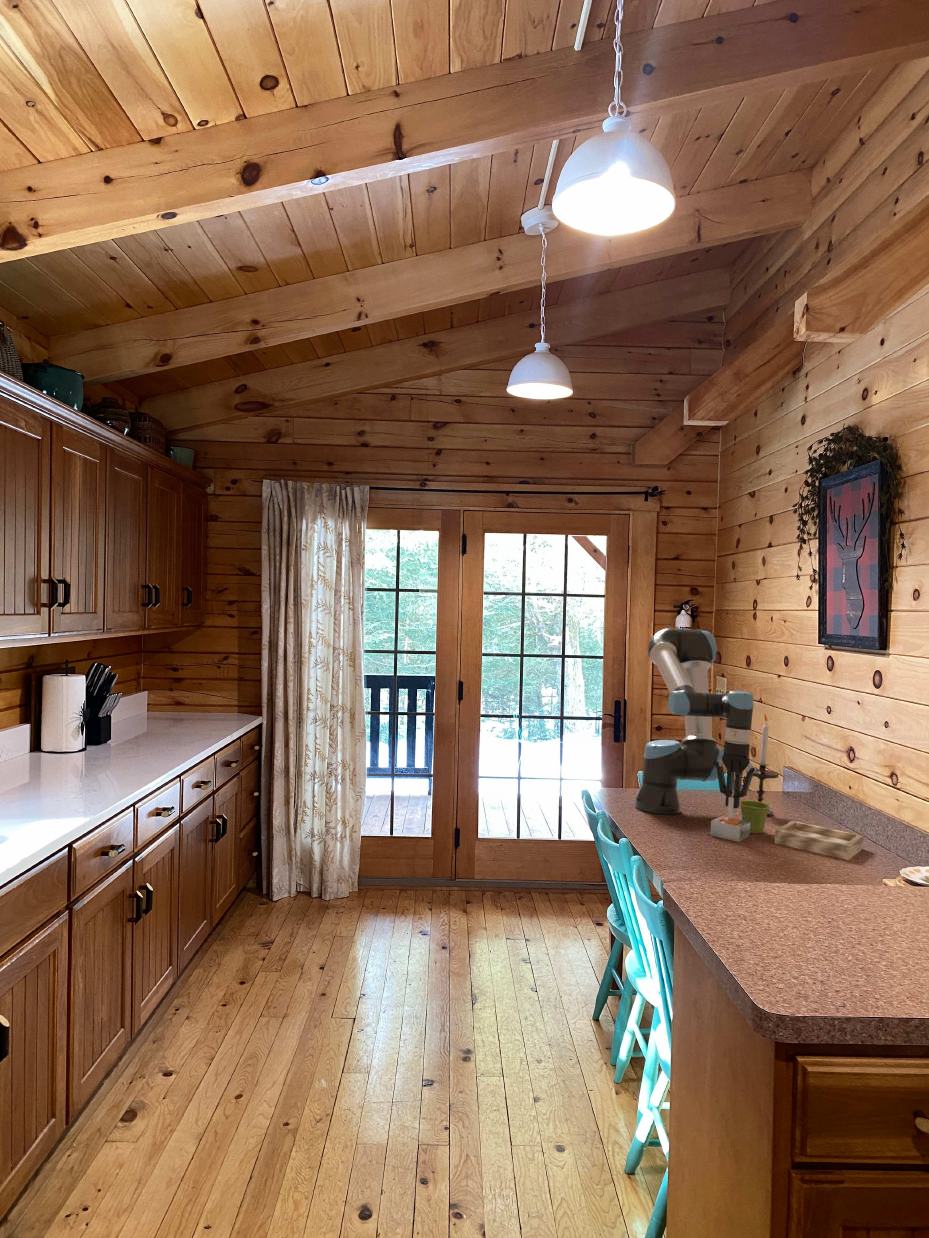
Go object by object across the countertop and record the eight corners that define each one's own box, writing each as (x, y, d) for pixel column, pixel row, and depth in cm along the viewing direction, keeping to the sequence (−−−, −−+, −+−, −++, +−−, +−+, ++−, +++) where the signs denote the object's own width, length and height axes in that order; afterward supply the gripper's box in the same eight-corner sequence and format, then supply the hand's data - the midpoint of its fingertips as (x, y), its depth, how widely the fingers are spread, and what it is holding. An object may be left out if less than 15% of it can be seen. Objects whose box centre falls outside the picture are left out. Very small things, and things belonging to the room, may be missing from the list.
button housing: (710, 835, 258) (711, 820, 258) (720, 829, 265) (722, 815, 265) (739, 841, 253) (740, 827, 252) (749, 836, 260) (750, 822, 260)
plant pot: (770, 836, 261) (772, 809, 261) (739, 833, 263) (741, 805, 263) (766, 829, 270) (768, 802, 270) (735, 825, 272) (737, 799, 272)
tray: (774, 843, 254) (775, 829, 254) (791, 833, 267) (792, 820, 267) (848, 860, 241) (849, 846, 241) (862, 848, 255) (863, 835, 255)
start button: (719, 827, 258) (720, 818, 258) (725, 825, 262) (726, 815, 262) (735, 831, 255) (736, 821, 255) (741, 828, 259) (742, 819, 259)
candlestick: (746, 815, 287) (754, 713, 287) (739, 807, 298) (747, 709, 297) (779, 818, 286) (787, 716, 285) (771, 810, 297) (779, 712, 296)
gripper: (712, 739, 259) (706, 815, 260) (754, 746, 251) (748, 824, 252) (721, 737, 265) (715, 811, 266) (762, 744, 257) (756, 820, 258)
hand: (731, 817), depth 259 cm, fingers closed
